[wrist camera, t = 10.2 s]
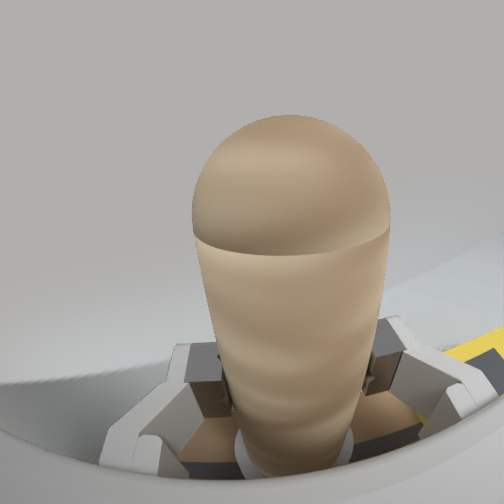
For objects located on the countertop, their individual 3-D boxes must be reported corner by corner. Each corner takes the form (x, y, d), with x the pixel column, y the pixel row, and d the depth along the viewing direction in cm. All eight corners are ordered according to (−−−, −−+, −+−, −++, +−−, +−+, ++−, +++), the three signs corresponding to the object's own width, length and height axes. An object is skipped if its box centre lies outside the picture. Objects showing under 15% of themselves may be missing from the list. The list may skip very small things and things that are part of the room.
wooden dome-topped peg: (239, 504, 8) (93, 135, 3) (239, 418, 12) (182, 132, 7) (357, 488, 8) (478, 120, 3) (336, 406, 12) (356, 120, 7)
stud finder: (442, 468, 8) (470, 442, 7) (405, 392, 13) (420, 358, 12) (534, 404, 8) (558, 371, 7) (496, 353, 13) (511, 320, 12)
